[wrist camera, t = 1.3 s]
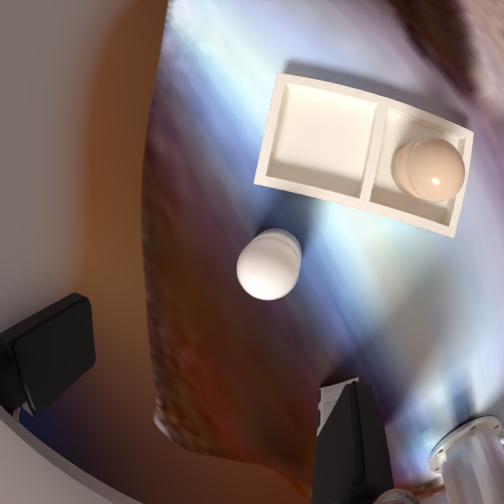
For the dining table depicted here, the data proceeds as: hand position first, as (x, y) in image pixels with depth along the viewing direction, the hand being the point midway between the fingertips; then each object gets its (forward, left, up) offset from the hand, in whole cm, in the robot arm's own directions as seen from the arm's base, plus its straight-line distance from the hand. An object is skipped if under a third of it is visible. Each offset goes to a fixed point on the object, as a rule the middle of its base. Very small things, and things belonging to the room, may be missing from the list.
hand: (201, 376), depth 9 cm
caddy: (-6, -10, -18) cm, 22 cm away
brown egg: (-10, -10, -17) cm, 22 cm away
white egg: (0, 0, -18) cm, 18 cm away
